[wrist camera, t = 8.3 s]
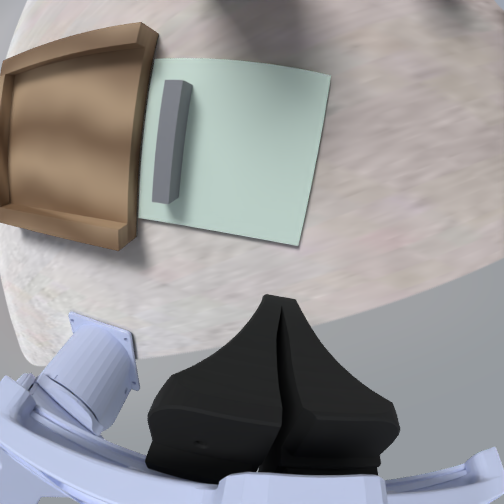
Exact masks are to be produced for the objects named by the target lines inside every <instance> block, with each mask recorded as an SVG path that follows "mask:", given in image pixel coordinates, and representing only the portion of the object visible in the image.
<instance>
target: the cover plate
mask: <svg viewBox="0 0 504 504" xmlns="http://www.w3.org/2000/svg"><path fill="white" fill-rule="evenodd" d="M330 79H331V75H327V74H322V73H318V72H313V71H308V70H303V69H298V68H292V67H286V66H280V65H273V64H266V63H258V62H249V61H238V60H225V59H205V58H164V59H155V61H154V66H153V71H152V77H151V83H150V89H149V96H148V102H147V110H146V117H145V126H144V135H143V145H142V156H141V169H140V186H139V213H138V218H143V219H149V220H155V221H161V222H167V223H173V224H178V225H184V226H190V227H196V228H202V229H207V230H213V231H219V232H224V233H230V234H236V235H241V236H247V237H252V238H258V239H263V240H269V241H274V242H280V243H285V244H290V245H296V246H298V244H299V240H300V236H301V231H302V227H303V222H304V217H305V213H306V208H307V204H308V199H309V194H310V189H311V184H312V179H313V174H314V169H315V164H316V159H317V154H318V149H319V143H320V138H321V132H322V127H323V121H324V115H325V109H326V103H327V97H328V91H329V85H330Z"/></svg>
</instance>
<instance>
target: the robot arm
mask: <svg viewBox="0 0 504 504" xmlns="http://www.w3.org/2000/svg"><path fill="white" fill-rule="evenodd" d="M69 319H70V323H71V327H72V331H73V335H72V336H71V337H70V339H69V340H68V341H67V342H66V343H65V345H64V346H63V347H62V348H61V349H60V350H59V352H58V353H57V354H56V355H55V356H54V358H53V359H52V360H51V361H50V363H49V364H48V365H47V366H46V367H45V369H44V370H43V371H42V373H41V374H40V375H39V376H37V377H36V378H35V376H34V375H33V374H32V373H29V374H28V373H23V374H22V375H21V376H20V377H19V379H18V380H17V381H14V380H13V379H12V378H10V377H9V376H7V375H6V376H4V378H3V379H2V380H1V381H0V504H38V502H39V501H40V499H41V497H69V498H71V499H73V500H75V501H76V502H78V503H80V504H489V503H491V502H492V501H494V500H495V499H497V498H498V497H500V496H502V495H503V494H504V469H503V466H502V463H501V460H500V458H499V455H498V452H497V450H496V447H492V448H489V449H486V450H483V451H480V452H478V453H476V454H474V455H473V456H472V457H470V458H469V459H468V460H467V461H466V462H465V463H464V464H460V465H457V466H453V467H450V468H446V469H443V470H438V471H434V472H430V473H425V474H420V475H416V476H410V477H404V478H397V479H391V480H383V479H382V478H381V477H379V476H378V472H377V467H379V466H380V464H381V461H380V454H381V453H382V452H383V451H384V450H386V449H387V448H388V447H389V446H390V445H391V444H392V443H393V441H394V440H395V439H396V438H397V436H398V435H399V432H400V426H399V422H398V418H397V414H396V411H395V408H394V406H393V403H392V402H390V401H389V400H387V399H385V398H383V397H382V396H380V395H379V394H377V393H375V392H374V391H372V390H370V389H369V388H368V387H366V386H365V385H364V384H362V383H361V382H360V381H358V380H357V379H356V378H355V377H353V376H352V375H351V374H350V373H349V372H348V371H347V370H346V369H345V368H343V367H342V366H341V365H340V364H339V363H338V362H337V361H336V360H335V359H334V357H333V356H332V355H331V354H330V353H329V352H328V351H327V349H326V348H325V347H324V346H323V344H322V343H321V342H320V340H319V339H318V337H317V336H316V334H315V333H314V331H313V330H312V328H311V326H310V325H309V323H308V321H307V320H306V318H305V316H304V314H303V313H302V311H301V309H300V307H299V305H298V303H297V301H296V300H295V299H291V298H285V297H279V296H274V295H268V294H266V295H264V296H263V298H262V301H261V303H260V305H259V307H258V309H257V310H256V312H255V313H254V315H253V316H252V318H251V319H250V320H249V322H248V323H247V324H246V325H245V326H244V327H243V329H242V330H241V331H240V332H239V333H238V334H237V335H236V336H235V337H234V338H233V339H232V340H230V341H229V342H228V343H227V344H226V345H225V346H223V347H222V348H221V349H219V350H218V351H217V352H215V353H214V354H213V355H211V356H210V357H208V358H206V359H204V360H203V361H201V362H199V363H197V364H196V365H194V366H192V367H190V368H187V369H185V370H183V371H181V372H179V373H176V374H173V375H171V377H170V378H169V379H168V380H167V381H166V383H165V384H164V385H163V387H162V388H161V390H160V391H159V393H158V394H157V396H156V398H155V399H154V401H153V404H152V406H151V409H150V411H149V413H148V425H149V429H150V432H151V436H152V440H153V441H152V443H151V446H150V449H149V451H148V454H147V456H146V455H143V454H140V453H138V452H135V451H132V450H129V449H127V448H124V447H121V446H119V445H116V444H114V443H112V442H109V441H107V440H104V438H103V437H102V436H101V435H100V434H101V432H103V431H105V430H106V429H108V428H109V427H110V426H111V425H112V424H113V423H114V421H115V419H116V418H117V415H118V413H119V412H120V410H121V408H122V406H123V404H124V402H125V400H126V398H127V396H128V394H129V392H130V391H131V389H133V390H136V391H138V390H139V389H140V385H139V379H138V373H137V368H136V362H135V355H134V348H133V341H132V335H131V333H130V332H129V331H127V330H124V329H121V328H118V327H115V326H112V325H109V324H106V323H103V322H100V321H97V320H94V319H91V318H88V317H85V316H83V315H80V314H77V313H74V312H70V313H69ZM258 468H259V471H258V472H256V471H257V470H258Z"/></svg>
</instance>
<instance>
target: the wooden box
mask: <svg viewBox="0 0 504 504" xmlns="http://www.w3.org/2000/svg"><path fill="white" fill-rule="evenodd" d="M157 38H158V33H157V32H155V31H154V30H152V29H151V28H149V27H148V26H146V25H145V24H143V23H142V22H137V23H130V24H124V25H118V26H112V27H107V28H102V29H97V30H93V31H89V32H85V33H81V34H77V35H73V36H69V37H66V38H63V39H59V40H56V41H53V42H50V43H47V44H44V45H41V46H38V47H36V48H33V49H30V50H28V51H25V52H23V53H20V54H18V55H15V56H13V57H11V58H8V59H6V60H4V61H3V63H2V68H1V74H0V223H4V224H8V225H12V226H16V227H20V228H24V229H27V230H31V231H36V232H40V233H44V234H48V235H52V236H56V237H60V238H64V239H69V240H73V241H77V242H81V243H86V244H90V245H94V246H99V247H103V248H108V249H112V250H117V251H119V250H121V249H122V248H123V247H124V246H126V245H127V244H128V243H129V242H130V241H132V240H133V239H134V238H136V225H137V190H138V172H139V158H140V146H141V136H142V127H143V119H144V111H145V104H146V97H147V90H148V84H149V78H150V72H151V67H152V62H153V57H154V52H155V47H156V43H157Z"/></svg>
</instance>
